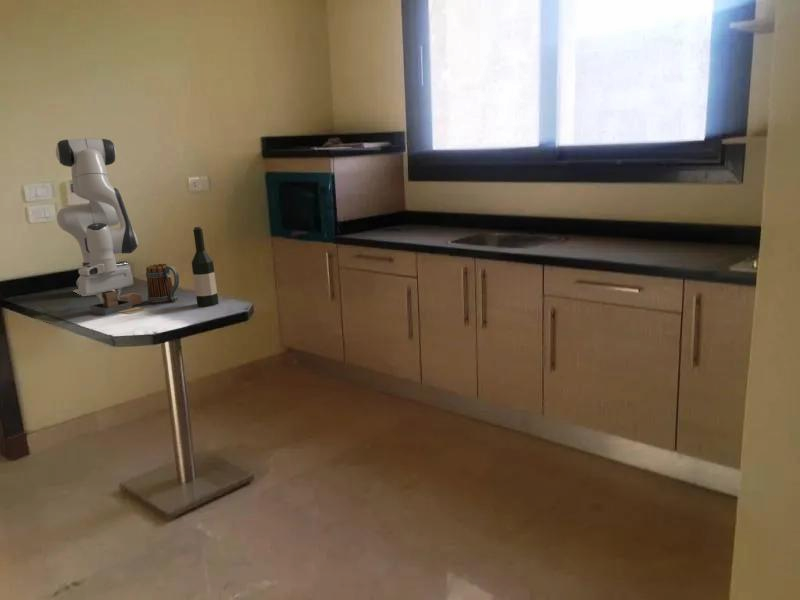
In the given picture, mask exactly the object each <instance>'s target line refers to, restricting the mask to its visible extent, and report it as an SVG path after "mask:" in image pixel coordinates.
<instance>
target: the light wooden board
mask: <svg viewBox="0 0 800 600" xmlns="http://www.w3.org/2000/svg"><path fill="white" fill-rule="evenodd" d="M147 310H149V308H144V307H138V306H136V307H132V308H131V309H127V310H123V311H119V312H118V313H120V314H126V315H132V314H135V313H140V312H145V311H147Z"/></svg>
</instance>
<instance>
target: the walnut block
mask: <svg viewBox="0 0 800 600" xmlns="http://www.w3.org/2000/svg"><path fill="white" fill-rule="evenodd" d="M101 296H102V298H104V299H106V303H104V304H103V308H109V307H113V306H117V305H118V300H117V294H116V291H106V292H102V295H101Z"/></svg>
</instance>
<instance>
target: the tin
mask: <svg viewBox="0 0 800 600" xmlns="http://www.w3.org/2000/svg"><path fill="white" fill-rule="evenodd" d="M131 308H133V305H132V302H128V301H122V300H120V299H119V300H118V305H117V306H113V307H109V308H103V304H101V303H100V302H99V303H97V304H92V305H89V309H90V310H89V311H90V313H93V314H97V315H102V316H108V315H112V314H116V313H120V312H119V311H123V310H127V309H131Z"/></svg>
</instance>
